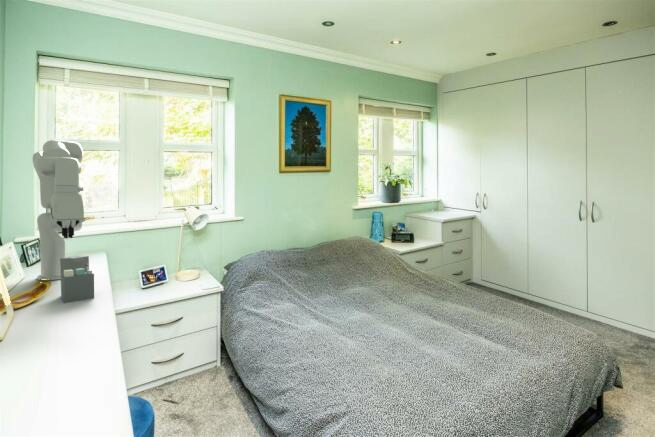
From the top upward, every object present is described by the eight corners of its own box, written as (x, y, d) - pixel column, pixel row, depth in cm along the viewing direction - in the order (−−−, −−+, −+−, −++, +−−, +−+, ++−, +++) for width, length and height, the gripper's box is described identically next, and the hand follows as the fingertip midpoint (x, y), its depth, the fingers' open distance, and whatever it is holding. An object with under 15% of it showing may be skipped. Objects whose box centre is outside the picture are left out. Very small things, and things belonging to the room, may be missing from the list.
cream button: (63, 278, 144) (63, 270, 143) (71, 277, 146) (71, 269, 145) (65, 279, 142) (65, 271, 142) (73, 278, 144) (73, 270, 144)
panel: (61, 300, 145) (61, 275, 144) (90, 295, 152) (90, 271, 151) (64, 303, 142) (64, 277, 141) (94, 298, 149) (94, 273, 148)
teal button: (75, 276, 147) (75, 268, 146) (82, 275, 148) (82, 268, 148) (77, 278, 145) (77, 270, 145) (84, 277, 147) (84, 269, 147)
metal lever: (86, 273, 150) (85, 264, 150) (88, 272, 150) (87, 264, 151) (86, 272, 149) (86, 264, 149) (89, 272, 150) (88, 263, 150)
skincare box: (73, 297, 149) (73, 258, 148) (59, 295, 151) (58, 257, 149) (91, 291, 157) (90, 255, 156) (77, 290, 159) (76, 254, 158)
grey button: (86, 273, 148) (86, 270, 148) (90, 273, 149) (90, 269, 149) (87, 274, 147) (87, 270, 147) (91, 273, 148) (91, 270, 148)
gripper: (87, 190, 149) (87, 235, 151) (40, 189, 138) (41, 238, 139) (93, 190, 144) (93, 237, 146) (44, 189, 133) (46, 240, 134)
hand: (68, 237), depth 143 cm, fingers closed
